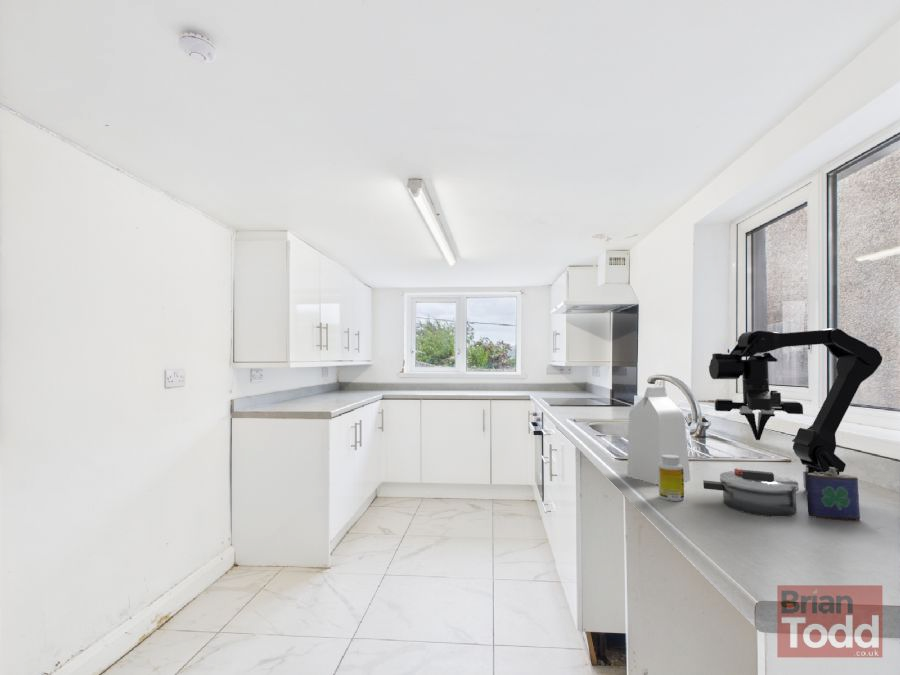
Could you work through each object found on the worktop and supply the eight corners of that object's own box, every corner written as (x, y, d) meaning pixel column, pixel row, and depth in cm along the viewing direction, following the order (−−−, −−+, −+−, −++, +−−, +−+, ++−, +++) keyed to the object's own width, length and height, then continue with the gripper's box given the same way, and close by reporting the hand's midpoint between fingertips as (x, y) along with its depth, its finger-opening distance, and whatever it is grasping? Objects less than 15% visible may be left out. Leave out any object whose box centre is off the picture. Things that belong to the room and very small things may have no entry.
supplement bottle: (687, 502, 110) (685, 458, 111) (662, 501, 112) (660, 457, 112) (680, 496, 116) (679, 454, 116) (656, 494, 117) (655, 453, 118)
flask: (856, 517, 99) (853, 466, 100) (864, 522, 97) (861, 469, 97) (805, 514, 102) (803, 464, 102) (811, 518, 99) (809, 467, 100)
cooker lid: (791, 480, 110) (790, 468, 111) (805, 496, 97) (804, 483, 97) (718, 473, 117) (717, 462, 117) (722, 488, 104) (721, 475, 104)
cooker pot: (788, 500, 111) (787, 479, 112) (803, 520, 97) (802, 496, 98) (703, 491, 120) (702, 471, 120) (705, 508, 106) (704, 486, 106)
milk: (661, 485, 125) (658, 388, 127) (627, 476, 136) (625, 386, 137) (690, 480, 131) (687, 387, 132) (655, 472, 141) (653, 385, 143)
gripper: (715, 379, 118) (717, 442, 118) (806, 381, 110) (809, 448, 109) (713, 378, 128) (715, 435, 127) (796, 379, 120) (799, 440, 119)
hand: (757, 440), depth 120 cm, fingers closed
